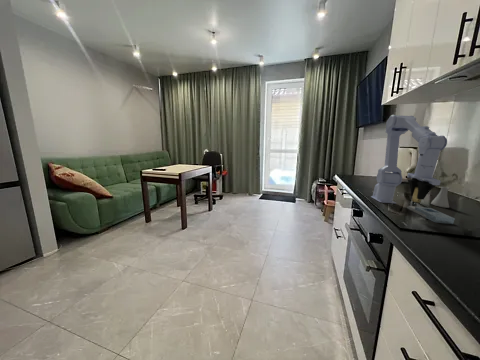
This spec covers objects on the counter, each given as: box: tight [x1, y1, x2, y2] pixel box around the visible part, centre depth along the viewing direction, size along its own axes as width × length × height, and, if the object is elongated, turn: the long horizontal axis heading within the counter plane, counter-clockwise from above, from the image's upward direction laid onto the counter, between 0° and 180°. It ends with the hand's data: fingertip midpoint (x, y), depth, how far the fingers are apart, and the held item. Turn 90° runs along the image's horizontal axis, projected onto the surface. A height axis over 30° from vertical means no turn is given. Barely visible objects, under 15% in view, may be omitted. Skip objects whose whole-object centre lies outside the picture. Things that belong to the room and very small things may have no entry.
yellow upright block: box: [411, 187, 423, 204], centre depth 84 cm, size 3×3×6 cm
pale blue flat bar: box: [406, 205, 456, 225], centre depth 89 cm, size 16×7×2 cm, turn 174°
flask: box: [430, 186, 450, 209], centre depth 104 cm, size 7×7×10 cm
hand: (417, 197), depth 84 cm, fingers closed on yellow upright block, 3 cm apart
